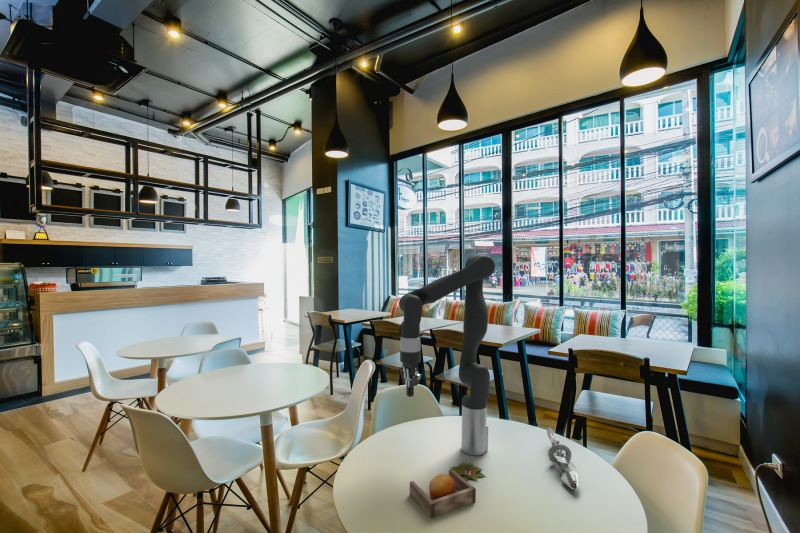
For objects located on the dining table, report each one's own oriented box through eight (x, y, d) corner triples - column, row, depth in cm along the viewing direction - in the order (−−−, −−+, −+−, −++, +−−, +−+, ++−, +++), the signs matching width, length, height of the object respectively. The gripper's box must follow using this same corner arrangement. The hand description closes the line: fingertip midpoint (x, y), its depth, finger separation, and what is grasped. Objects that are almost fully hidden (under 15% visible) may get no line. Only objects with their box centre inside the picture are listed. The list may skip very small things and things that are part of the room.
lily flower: (473, 462, 135) (473, 449, 135) (492, 480, 123) (493, 466, 123) (444, 467, 130) (444, 454, 130) (461, 486, 119) (461, 472, 119)
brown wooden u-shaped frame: (451, 481, 122) (451, 468, 122) (475, 501, 111) (475, 488, 111) (409, 494, 114) (409, 481, 114) (430, 518, 103) (431, 504, 103)
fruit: (459, 505, 107) (446, 479, 108) (436, 515, 109) (423, 489, 110) (462, 489, 115) (449, 465, 116) (441, 498, 117) (428, 474, 118)
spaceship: (561, 424, 149) (542, 415, 150) (593, 483, 114) (568, 471, 115) (552, 440, 150) (534, 432, 151) (581, 504, 116) (557, 492, 116)
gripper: (428, 351, 132) (428, 400, 132) (409, 344, 143) (409, 388, 143) (410, 354, 128) (410, 403, 128) (392, 346, 139) (392, 392, 140)
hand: (409, 395), depth 136 cm, fingers closed
